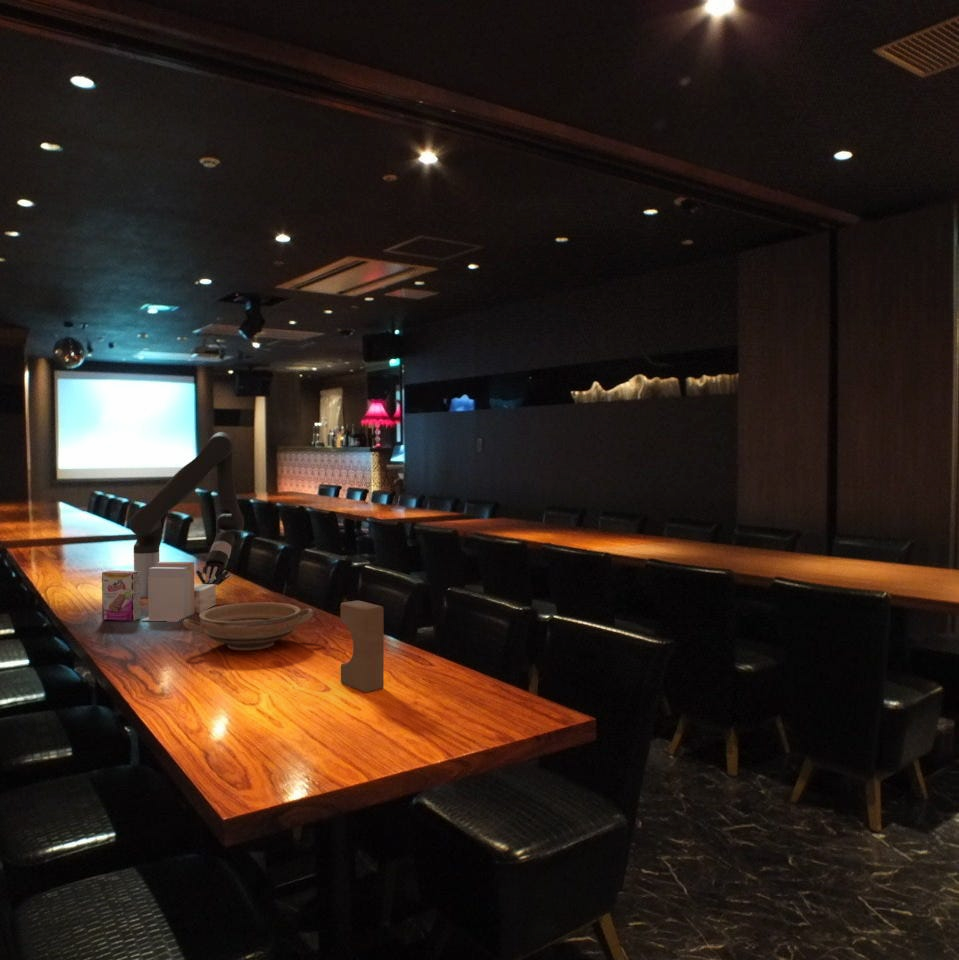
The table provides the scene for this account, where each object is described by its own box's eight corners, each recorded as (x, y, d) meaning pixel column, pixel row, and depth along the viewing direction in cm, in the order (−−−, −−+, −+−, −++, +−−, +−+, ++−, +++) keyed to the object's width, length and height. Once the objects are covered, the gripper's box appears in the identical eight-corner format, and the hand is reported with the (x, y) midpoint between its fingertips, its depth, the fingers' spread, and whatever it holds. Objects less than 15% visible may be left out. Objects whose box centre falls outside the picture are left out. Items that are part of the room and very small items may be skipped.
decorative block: (339, 683, 194) (339, 602, 193) (359, 678, 198) (359, 599, 197) (364, 693, 186) (364, 609, 185) (384, 688, 189) (384, 606, 189)
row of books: (141, 621, 262) (141, 567, 261) (161, 612, 276) (160, 561, 275) (176, 622, 261) (176, 568, 260) (194, 613, 275) (194, 562, 274)
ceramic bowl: (189, 664, 210) (188, 627, 210) (178, 641, 236) (178, 608, 235) (325, 649, 226) (325, 615, 226) (301, 629, 252) (301, 598, 252)
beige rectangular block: (180, 613, 276) (180, 590, 275) (197, 605, 290) (196, 584, 289) (200, 613, 275) (200, 591, 275) (215, 605, 289) (215, 584, 289)
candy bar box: (101, 621, 262) (100, 572, 262) (109, 618, 267) (109, 570, 267) (133, 622, 261) (132, 572, 261) (141, 618, 266) (140, 570, 266)
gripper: (199, 549, 299) (185, 587, 288) (233, 549, 299) (221, 587, 287) (205, 561, 305) (192, 598, 293) (238, 561, 304) (226, 599, 292)
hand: (206, 593), depth 290 cm, fingers closed
